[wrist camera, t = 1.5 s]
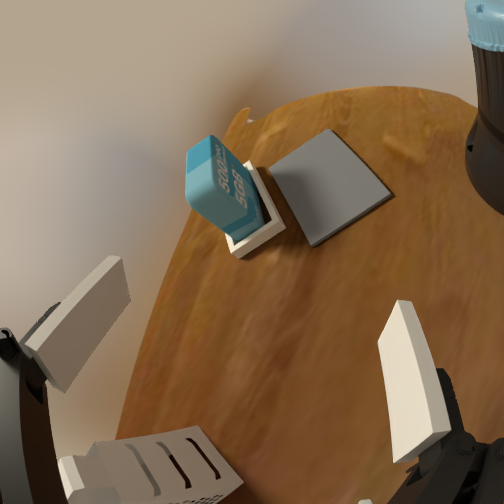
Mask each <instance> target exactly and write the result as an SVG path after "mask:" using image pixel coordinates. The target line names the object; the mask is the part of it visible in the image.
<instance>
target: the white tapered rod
mask: <svg viewBox="0 0 504 504" xmlns="http://www.w3.org/2000/svg"><path fill="white" fill-rule="evenodd" d="M358 504H373V503H372V501H371V500H370V499H367V500H361V501H359V503H358Z"/></svg>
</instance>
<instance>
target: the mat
mask: <svg viewBox="0 0 504 504" xmlns="http://www.w3.org/2000/svg"><path fill="white" fill-rule="evenodd" d="M268 169H269V170H270V172H271V174H272V176H273V177H274V179H275V181H276V183H277V184H278V186H279V188H280V190H281V191H282V193H283V195H284V197H285V199H286V200H287V202H288V204H289V206H290V208H291V209H292V211H293V213H294V215H295V217H296V219H297V220H298V222H299V224H300V226H301V228H302V230H303V232H304V234H305V235H306V237H307V239H308V241H309V243H310V245H311V246H312V247H314V246H316V245H317V244H319V243H320V242H322V241H323V240H325V239H327V238H328V237H330V236H331V235H333V234H334V233H336V232H337V231H339V230H341V229H342V228H344V227H345V226H347V225H348V224H350V223H351V222H353V221H354V220H356V219H357V218H359V217H361V216H362V215H364V214H365V213H367V212H368V211H370V210H371V209H373V208H374V207H376V206H377V205H379V204H380V203H382V202H383V201H385V200H386V199H388V198H389V197H391V193H390V192H389V191H388V190H387V189H386V187H385V186H384V185H383V184H382V183H381V182H380V181H379V179H378V178H377V177H376V176H375V175H374V174H373V173H372V172H371V171H370V170H369V168H368V167H367V166H366V165H365V164H364V163H363V162H362V161H361V160H360V159H359V158H358V157H357V156H356V155H355V154H354V153H353V152H352V151H351V150H350V149H349V148H348V147H347V146H346V145H345V144H344V143H343V142H342V141H341V140H340V139H339V138H338V137H337V136H336V135H335V134H334V133H333V132H332V131H331V130H330V129H329V128H328V129H326V130H325V131H323V132H322V133H320V134H318V135H317V136H315V137H314V138H312V139H311V140H309V141H308V142H306V143H305V144H303V145H302V146H300V147H299V148H297V149H296V150H294V151H293V152H291V153H290V154H288V155H287V156H285V157H284V158H283V159H281V160H280V161H278V162H277V163H275V164H274V165H272V166H271V167H270V168H268Z"/></svg>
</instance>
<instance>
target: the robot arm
mask: <svg viewBox="0 0 504 504" xmlns="http://www.w3.org/2000/svg"><path fill="white" fill-rule="evenodd" d="M465 9H466V15H467V21H468V27H469V31H468V37H469V39H470V41H471V44H472V50H473V57H474V63H475V72H476V82H477V94H478V113H477V115H476V118H475V120H474V123H473V125H472V127H471V130H470V132H469V134H468V137H467V141H466V148H465V164H466V170H467V173H468V176H469V178H470V181H471V183H472V184H473V186H474V188H475V189H476V191H477V192H478V193H479V195H480V196H481V197H482V198H483V199H484V200H485V201H486V202H487V203H488V204H489V205H490V206H491V207H492V208H494V209H495V210H497V211H498V212H500V213H501V214H503V215H504V0H466V1H465ZM130 301H131V299H130V295H129V291H128V286H127V282H126V277H125V272H124V268H123V262H122V258H121V257H117V256H112V255H109V256H108V257H107V258H106V259H105V260H104V261H103V262H102V263H101V264H100V265H99V266H98V267H97V268H96V269H94V270H93V271H92V272H91V274H89V275H88V276H87V277H86V278H85V279H84V280H83V281H82V282H81V283H80V284H79V285H78V286H77V287H76V288H75V289H74V290H73V291H72V292H71V293H70V294H69V295H68V296H67V297H66V298H65V300H64V301H63V302H62V303H61V302H58V303H57V304H55V305H53V306H52V307H50V308H49V309H48V311H46V313H45V314H44V316H42V317H41V318H40V319H39V320H38V322H36V324H35V325H34V326H33V327H32V328H31V329H30V330H29V332H27V334H26V335H25V336H24V337H23V338H22V339H21V341H20V342H19V343H18V342H17V341H16V339H15V337H14V335H13V334H12V332H11V330H10V329H8V328H0V504H69V503H68V500H67V497H66V494H65V490H64V487H63V483H62V480H61V476H60V472H59V468H58V463H57V459H56V454H55V449H54V443H53V438H52V431H51V424H50V416H49V408H48V397H47V387H46V384H45V381H46V380H47V379H48V380H49V382H50V383H51V385H52V386H53V387H55V388H56V389H58V390H60V391H61V392H63V393H66V391H67V390H68V388H69V387H70V385H71V383H72V382H73V380H74V379H75V377H76V376H77V374H78V373H79V371H80V370H81V369H82V367H83V366H84V364H85V363H86V361H87V360H88V358H89V357H90V356H91V354H92V353H93V351H94V350H95V348H96V347H97V346H98V344H99V343H100V341H101V340H102V339H103V337H104V336H105V335H106V333H107V332H108V330H109V329H110V327H111V326H112V325H113V323H114V322H115V321H116V320H117V318H118V317H119V316H120V314H121V313H122V312H123V310H124V309H125V308H126V306H127V305H128V304H129V302H130ZM378 347H379V352H380V357H381V363H382V369H383V375H384V381H385V387H386V394H387V401H388V409H389V418H390V427H391V437H392V449H393V463H402V462H410V461H412V460H413V459H415V458H416V457H417V456H418V457H419V462H418V463H417V464H415V465H414V466H412V467H411V468H409V469H408V470H407V471H406V473H409V472H410V471H411V473H410V474H409V476H408V477H407V479H406V480H405V481H404V483H403V484H402V485H401V487H400V488H399V489H398V491H397V492H396V493H395V495H394V496H393V497H392V498H391V500H390V501H389V502H388V503H387V504H503V503H504V438H499V439H497V440H496V441H494V442H493V443H492V444H486V443H479V442H476V440H475V438H474V437H473V436H472V435H471V434H470V433H467V432H465V430H464V427H463V423H462V419H461V415H460V411H459V407H458V403H457V400H456V399H455V397H456V396H455V393H454V391H453V386H452V383H451V379H450V377H449V376H448V374H447V373H446V372H445V370H444V369H443V368H437V369H435V366H434V362H433V359H432V356H431V353H430V350H429V347H428V344H427V341H426V338H425V336H424V333H423V330H422V327H421V325H420V322H419V319H418V317H417V314H416V312H415V309H414V307H413V304H412V302H411V301H403V300H397V302H396V304H395V306H394V308H393V311H392V313H391V315H390V317H389V319H388V322H387V324H386V326H385V328H384V330H383V332H382V334H381V336H380V338H379V340H378ZM476 485H477V486H476Z"/></svg>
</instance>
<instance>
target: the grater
mask: <svg viewBox="0 0 504 504" xmlns="http://www.w3.org/2000/svg"><path fill="white" fill-rule="evenodd" d="M186 438H191V439H192V440H194V441H195V442H196V443H197V444H198V445H199V447H200V448H201V450H202V451H203V452H204V454H205V455H206V456H207V457H208V459H209V460H210V461H211V463H212V464H213V465H214V466H215V468H216V469H217V470H218V471H219V474H220V476H221V479H218V480H216V479H215V473H214V471H213V470H212V469H211V468H210V466H209V465H208V464H207V462H206V461H205V460H204V459H203V457H202V456H201V455H200V453H199V452H198V451H197V449H196V448H195V447H194V445H193V444H192V443H191V442H189V441H188V440H186ZM171 454H172V455H173V457H174V458H175V460H176V461H177V463H178V464H179V465H180V467H181V468H182V470H183V471H184V473H185V474H186V475H187V477H188V478H189V480H190V482H191V486H192V488H188V489H185V481H184V479H183V478H182V476H181V475H180V473H179V472H178V471H177V469H176V468H175V466H174V465H173V463H172V462H171V460H170V459H169V456H170V455H171ZM58 468H59V472H60V476H61V480H62V483H63V487H64V490H65V494H66V497H67V500H68V503H69V504H176V503H179V504H194V503H196V502H198V501H201V502H204V501H206V502H209V503H211V502H214V503H212V504H216V503H218V502H219V501H220V500H222V499H223V498H224V497H226V496H227V495H228V494H230V493H231V492H232V491H234V490H235V489H236V488H238V487H239V486H240V485H241V484H243V483H244V482H243V480H242V479H241V478H240V477H239V476H238V475H237V474H236V472H235V471H234V470H233V469H232V468H231V467H230V465H229V464H228V463H227V462H226V461H225V459H224V458H223V457H222V456H221V455H220V453H219V452H218V451H217V450H216V448H215V447H214V446H213V444H212V443H211V442H210V441H209V439H208V438H207V437H206V435H205V434H204V433H203V431H202V430H201V429H200V427H199V426H198V425H197V426H193V427H188V428H184V429H179V430H175V431H170V432H165V433H160V434H154V435H148V436H142V437H136V438H129V439H121V440H113V441H103V442H94V444H93V445H92V447H91V448H90V450H89V452H88V453H87V455H86V456H77V455H70V456H66V457H62V458H60V460H59V463H58ZM116 489H117V490H116ZM216 495H219V496H221V495H223V496H222V497H219V496H217V497H215V498H214V499H213V497H214V496H216ZM204 497H206V498H205V499H207V498H210V499H213V500H215V499H218V497H219V499H218V500H216V501H213V500H211V501H209V500H210V499H208V500H205V499H203V500H200V499H201V498H204ZM194 500H196V501H195V502H193V503H192V502H191V501H194ZM201 502H199V503H197V504H200V503H201ZM206 502H205V503H206ZM209 503H208V504H209ZM202 504H204V503H202Z"/></svg>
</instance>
